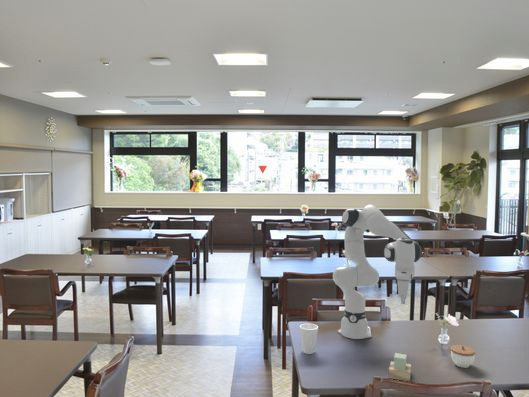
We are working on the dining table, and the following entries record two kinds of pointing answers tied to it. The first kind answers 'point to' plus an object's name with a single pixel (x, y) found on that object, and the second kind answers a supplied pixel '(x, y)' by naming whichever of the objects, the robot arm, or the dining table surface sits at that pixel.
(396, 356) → the green cube
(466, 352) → the lidded jar
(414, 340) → the dining table surface
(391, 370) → the oak base
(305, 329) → the foam cup
